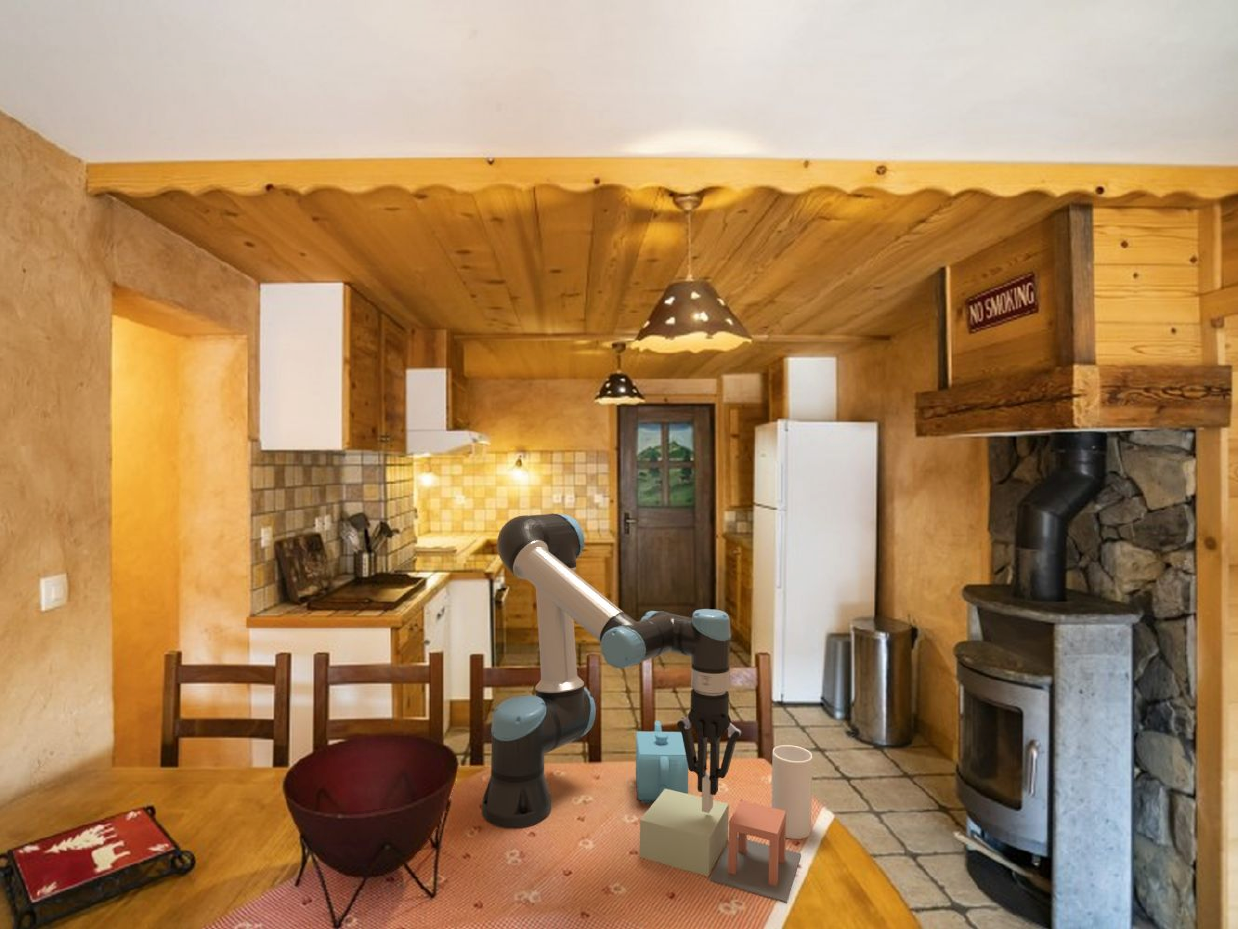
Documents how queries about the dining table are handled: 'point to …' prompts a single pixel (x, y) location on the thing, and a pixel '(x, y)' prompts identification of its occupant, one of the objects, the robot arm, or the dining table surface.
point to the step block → (684, 832)
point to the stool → (757, 834)
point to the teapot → (660, 763)
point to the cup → (793, 788)
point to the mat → (757, 872)
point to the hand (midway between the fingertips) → (707, 808)
